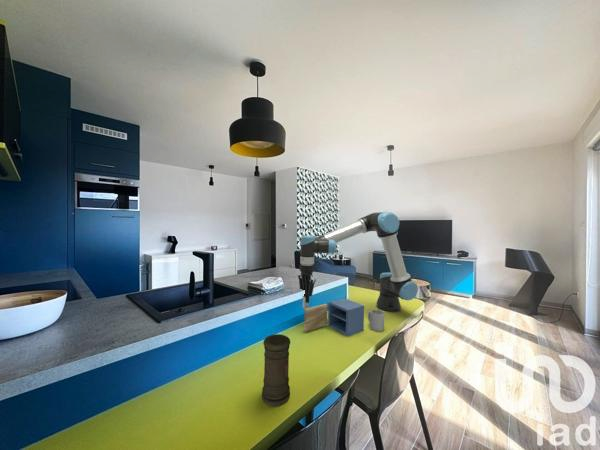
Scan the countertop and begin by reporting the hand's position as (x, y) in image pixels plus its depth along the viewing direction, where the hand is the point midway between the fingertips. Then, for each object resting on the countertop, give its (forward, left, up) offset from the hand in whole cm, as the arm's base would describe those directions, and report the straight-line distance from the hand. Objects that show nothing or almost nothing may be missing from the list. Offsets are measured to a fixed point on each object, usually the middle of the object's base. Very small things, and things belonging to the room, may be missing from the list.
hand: (305, 307), depth 130 cm
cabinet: (-15, +15, -9) cm, 23 cm away
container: (+40, +37, -9) cm, 55 cm away
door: (-1, +8, -8) cm, 11 cm away
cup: (-29, +23, -9) cm, 38 cm away
